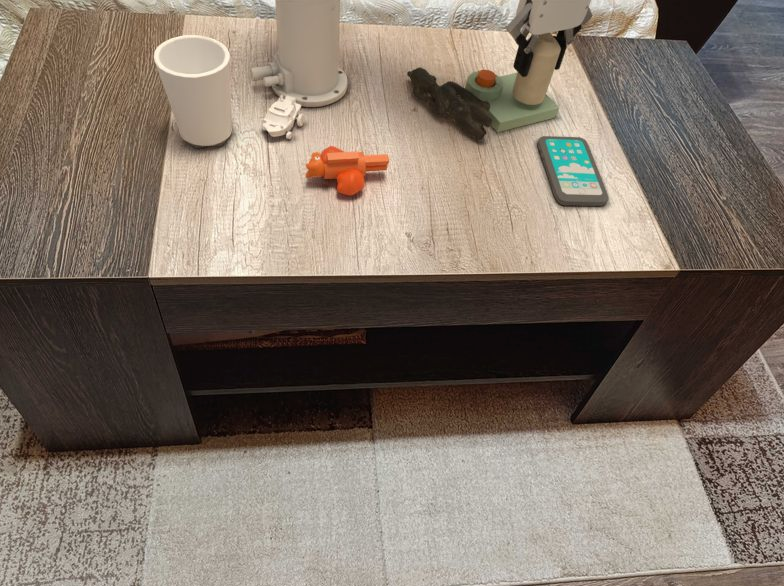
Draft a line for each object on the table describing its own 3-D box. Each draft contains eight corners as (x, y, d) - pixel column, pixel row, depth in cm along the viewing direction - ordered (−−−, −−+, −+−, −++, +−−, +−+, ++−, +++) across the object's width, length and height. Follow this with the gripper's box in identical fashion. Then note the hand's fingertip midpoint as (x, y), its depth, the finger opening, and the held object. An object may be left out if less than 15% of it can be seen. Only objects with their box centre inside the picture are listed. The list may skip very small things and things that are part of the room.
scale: (492, 133, 100) (497, 115, 98) (457, 93, 106) (461, 74, 103) (556, 117, 105) (562, 99, 102) (519, 79, 110) (525, 60, 107)
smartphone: (558, 200, 91) (536, 134, 100) (556, 205, 92) (534, 140, 100) (612, 201, 93) (586, 136, 101) (609, 206, 94) (584, 141, 102)
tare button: (482, 90, 102) (484, 81, 100) (472, 79, 103) (474, 71, 102) (497, 86, 103) (499, 78, 101) (487, 76, 104) (489, 68, 103)
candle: (543, 108, 101) (562, 50, 92) (510, 101, 101) (526, 42, 93) (545, 89, 104) (564, 31, 96) (513, 82, 104) (529, 23, 96)
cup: (198, 165, 89) (181, 85, 79) (159, 130, 93) (138, 49, 82) (253, 138, 94) (245, 59, 83) (214, 106, 97) (201, 26, 87)
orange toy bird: (386, 136, 88) (302, 140, 86) (395, 182, 87) (310, 189, 84) (381, 155, 93) (302, 160, 91) (390, 200, 91) (309, 206, 89)
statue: (467, 139, 95) (387, 77, 103) (482, 150, 99) (404, 91, 108) (493, 103, 93) (409, 43, 101) (506, 116, 97) (425, 58, 106)
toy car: (308, 118, 98) (307, 95, 94) (285, 147, 93) (284, 124, 90) (280, 109, 98) (278, 86, 95) (256, 138, 94) (254, 114, 90)
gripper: (606, -75, 88) (565, 46, 103) (506, -62, 82) (478, 65, 97) (639, -50, 85) (592, 72, 100) (537, -35, 79) (503, 92, 94)
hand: (536, 67), depth 98 cm, fingers closed on candle, 5 cm apart
